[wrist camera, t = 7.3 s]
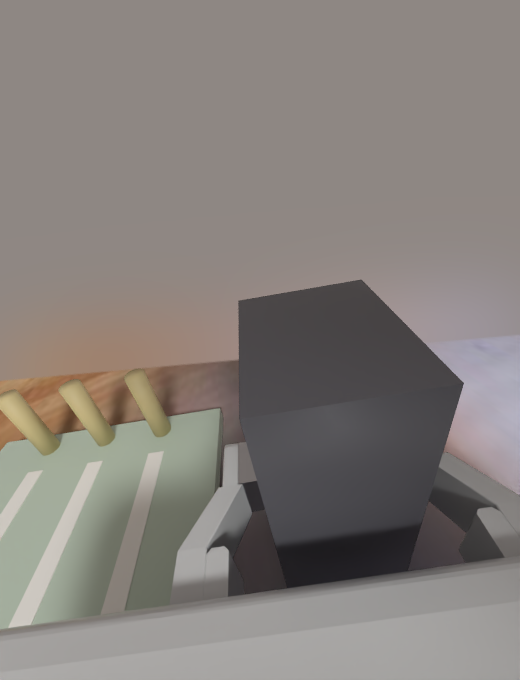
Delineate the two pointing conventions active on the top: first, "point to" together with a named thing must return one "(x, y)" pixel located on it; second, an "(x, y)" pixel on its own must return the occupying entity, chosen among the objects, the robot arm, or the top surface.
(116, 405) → the top surface
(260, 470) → the block
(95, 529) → the pinboard
